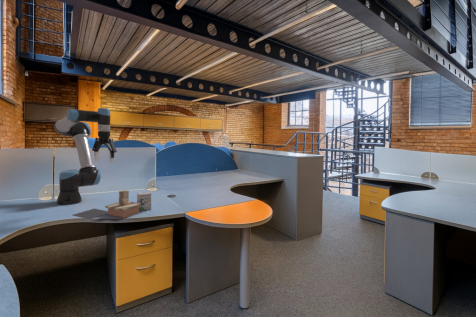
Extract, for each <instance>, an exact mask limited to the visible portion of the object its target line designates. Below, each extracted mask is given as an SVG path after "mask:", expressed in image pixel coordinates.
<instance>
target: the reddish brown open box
mask: <svg viewBox="0 0 476 317" xmlns="http://www.w3.org/2000/svg"><path fill="white" fill-rule="evenodd" d="M107 211H108V214H107V215H108V216H114V217H119V218H122V219H127V218H130V217H132V216H135V215H138V214H140V210H139V206H138V207H135V208H132V209H129V210H126V211H119V210H114V209H109V208H107Z"/></svg>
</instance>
